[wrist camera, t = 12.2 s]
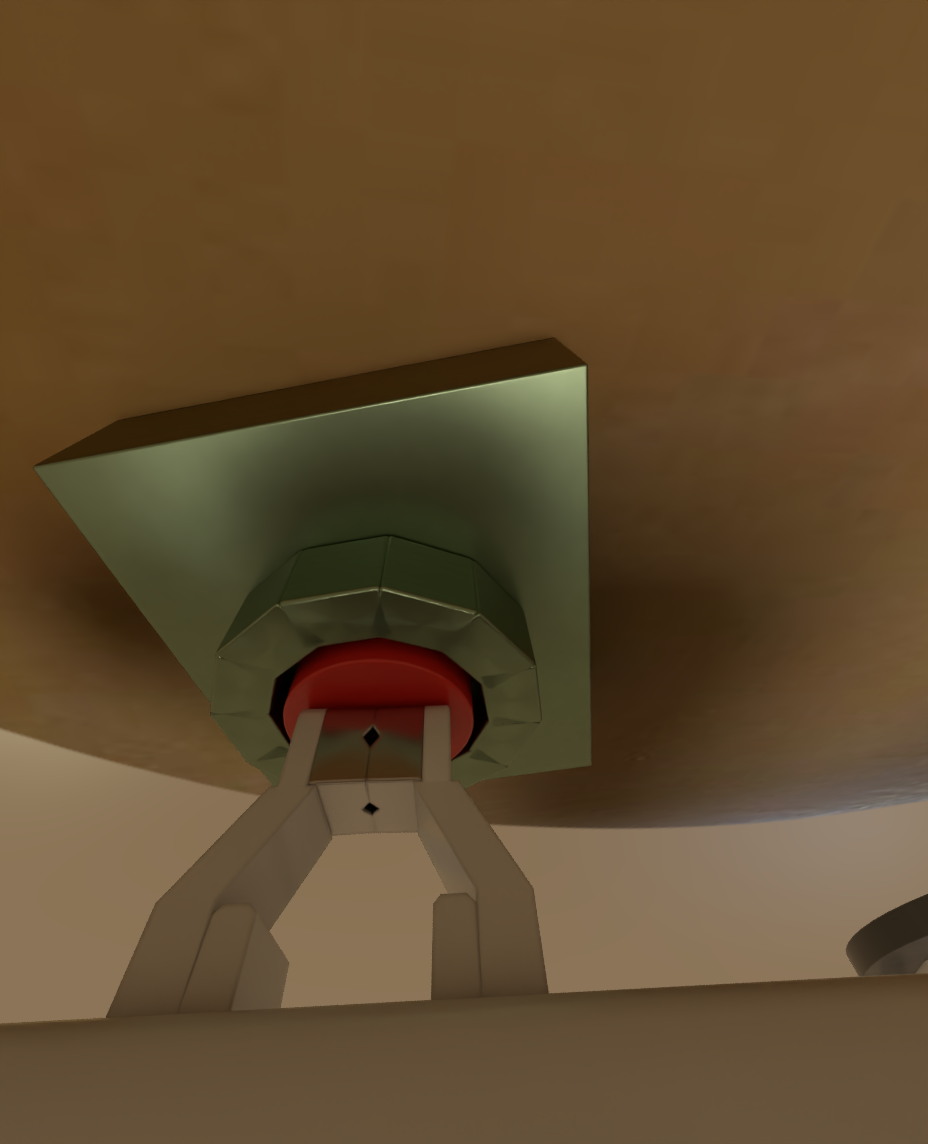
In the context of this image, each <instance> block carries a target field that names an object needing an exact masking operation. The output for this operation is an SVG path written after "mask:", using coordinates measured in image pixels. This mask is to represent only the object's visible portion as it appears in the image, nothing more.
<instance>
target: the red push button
mask: <svg viewBox="0 0 928 1144" xmlns="http://www.w3.org/2000/svg"><path fill="white" fill-rule="evenodd" d="M421 705H424V706H439V705H449V707H450V735H451V759H452V758H454V757H455V756H456V755H457V754H458V753H459V752H460V751H461V750H462V749H463V748H464V746H465V745H466V744H467V742H468V740H469V738H470V736H471V734H472V730H473V725H474V713H473V699H472V686H471V676H470V675H469V674H468V673H466V672H465V671H464V670H463V669H461V668H460V667H459V666H458V665H457V664H455V663H454V662H453V661H452V660H450V659H449V658H448V657H447V656H445V655H444V654H443V653H442V652H438V651H434V650H430V649H425V648H421V647H417V646H413V645H408V644H404V643H400V642H396V641H391V640H387V639H383V638H376V639H370V640H363V641H357V642H350V643H344V644H337V645H331V646H324V647H319V648H317V649H316V650H314V651H313V652H312V653H310V654H309V655H308V656H306V657H305V658H303V659H302V660H301V661H299V663H298V666H297V669H296V672H295V675H294V678H293V681H292V684H291V687H290V690H289V693H288V696H287V699H286V702H285V705H284V710H283V720H284V726H285V729H286V732H287V734H288V736H289V738H290V739H292V736H293V732H294V729H295V726H296V722H297V719H298V716H299V715H300V713H301V712H302V710H303V709H328V708H329V709H347V708H377V707H398V706H421Z"/></svg>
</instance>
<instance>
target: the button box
mask: <svg viewBox="0 0 928 1144" xmlns="http://www.w3.org/2000/svg"><path fill="white" fill-rule="evenodd" d="M33 469H34V470H35V472H36V473H37V474H38V476H39V477H40V478H41V480H42V481H43V482H44V484H45V485H46V486H47V488H48V489H49V490H50V492H51V493H52V494H53V496H54V497H55V498H56V500H57V501H58V502H59V503H60V505H61V506H62V507H63V509H64V510H65V511H66V513H67V514H68V515H69V517H70V518H71V519H72V521H73V522H74V523H75V525H76V526H77V527H78V529H79V530H80V531H81V533H82V534H83V535H84V537H85V538H86V539H87V541H88V542H89V543H90V545H91V546H92V547H93V549H94V550H95V551H96V552H97V554H98V555H99V556H100V558H101V559H102V560H103V562H104V563H105V564H106V566H107V567H108V568H109V570H110V571H111V572H112V574H113V575H114V576H115V578H116V579H117V580H118V582H119V583H120V584H121V586H122V587H123V588H124V590H125V591H126V592H127V594H128V595H129V596H130V598H131V599H132V600H133V601H134V603H135V604H136V605H137V607H138V608H139V609H140V611H141V612H142V613H143V615H144V616H145V617H146V619H147V620H148V621H149V623H150V624H151V625H152V627H153V628H154V629H155V631H156V632H157V633H158V635H159V636H160V637H161V639H162V640H163V641H164V643H165V644H166V645H167V646H168V648H169V649H170V650H171V652H172V653H173V654H174V656H175V657H176V658H177V660H178V661H179V662H180V664H181V665H182V666H183V668H184V669H185V670H186V672H187V673H188V674H189V676H190V677H191V678H192V680H193V681H194V682H195V684H196V685H197V686H198V688H199V689H200V690H201V692H202V693H203V694H204V695H205V697H206V698H207V699H208V701H209V702H210V703H211V706H210V711H211V712H210V715H211V717H212V718H213V719H214V720H215V722H216V723H217V724H218V726H219V727H220V728H221V729H222V731H223V732H224V733H225V735H226V736H227V737H228V739H229V740H230V741H231V742H232V744H233V745H234V746H235V748H236V749H237V750H238V751H239V753H240V754H241V755H242V757H243V758H244V759H245V760H246V762H248V763H249V764H250V765H252V766H254V767H256V768H258V769H260V770H261V771H262V772H263V774H264V775H265V776H266V778H267V779H268V780H269V782H270V783H271V784H272V786H277V785H278V782H279V779H280V775H281V772H282V769H283V765H284V762H285V759H286V755H287V752H288V749H289V745H290V742H291V739H290V738H289V736H288V734H287V732H286V729H285V726H284V720H283V710H284V705H285V702H286V699H287V696H288V693H289V690H290V687H291V684H292V681H293V678H294V675H295V672H296V669H297V666H298V663H299V661H301V660H302V659H303V658H305V657H306V656H308V655H309V654H310V653H312V652H313V651H314V650H316V649H317V648H319V647H324V646H331V645H337V644H344V643H350V642H357V641H363V640H370V639H376V638H383V639H387V640H391V641H396V642H400V643H404V644H408V645H413V646H417V647H421V648H425V649H430V650H434V651H438V652H442V653H443V654H444V655H445V656H447V657H448V658H449V659H450V660H452V661H453V662H454V663H455V664H457V665H458V666H459V667H460V668H461V669H463V670H464V671H465V672H466V673H468V674H469V675H470V676H471V686H472V699H473V713H474V725H473V730H472V734H471V736H470V738H469V740H468V742H467V744H466V745H465V746H464V748H463V749H462V750H461V751H460V752H459V753H458V754H457V755H456V756H455V757H454V758H452V759H451V780H459V781H460V782H461V784H462V785H463V787H464V788H465V789H466V788H468V787H470V786H472V785H474V784H476V783H478V782H480V781H482V780H487V779H494V778H502V777H509V776H517V775H524V774H532V773H539V772H547V771H554V770H562V769H569V768H577V767H584V766H591V654H590V543H589V432H588V365H587V363H586V362H584V361H583V360H582V359H581V358H579V357H578V356H577V355H576V354H574V353H573V352H572V351H571V350H569V349H568V348H567V347H566V346H564V345H563V344H562V343H561V342H559V341H558V340H557V339H556V338H550V339H545V340H539V341H534V342H529V343H524V344H518V345H513V346H508V347H503V348H497V349H492V350H487V351H482V352H476V353H471V354H466V355H461V356H455V357H450V358H445V359H439V360H434V361H429V362H424V363H418V364H413V365H408V366H403V367H397V368H392V369H387V370H382V371H376V372H371V373H366V374H360V375H355V376H350V377H345V378H339V379H334V380H329V381H324V382H318V383H313V384H308V385H303V386H297V387H292V388H287V389H282V390H276V391H271V392H266V393H260V394H255V395H250V396H245V397H239V398H234V399H229V400H224V401H218V402H213V403H208V404H203V405H197V406H192V407H187V408H181V409H176V410H171V411H166V412H160V413H155V414H150V415H145V416H139V417H134V418H129V419H124V420H118V421H116V422H114V423H112V424H110V425H108V426H106V427H105V428H103V429H101V430H99V431H97V432H95V433H94V434H92V435H90V436H88V437H86V438H84V439H83V440H81V441H79V442H77V443H75V444H73V445H71V446H70V447H68V448H66V449H64V450H62V451H60V452H59V453H57V454H55V455H53V456H51V457H49V458H47V459H46V460H44V461H42V462H40V463H38V464H36V465H35V466H34V467H33Z"/></svg>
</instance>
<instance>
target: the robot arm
mask: <svg viewBox="0 0 928 1144" xmlns="http://www.w3.org/2000/svg"><path fill="white" fill-rule="evenodd" d="M393 832H395V833H401V832H418V835H419V837H420V839H421V841H422V842H423V845H424V847H425V849H426V851H427V853H428V855H429V857H430V858H431V860H432V863H433V865H434V866H435V868H436V870H437V872H438V874H439V876H440V878H441V880H442V882H443V884H444V886H445V888H446V890H447V892H448V894H441V895H440V896H439V897H438V899H437V900H436V901H435V903H434V905H433V942H432V987H431V988H432V989H431V1000H424V1001H423V1000H422V1001H405V1002H386V1003H368V1004H350V1005H331V1006H315V1007H314V1006H313V1007H295V1008H280V1007H281V1002H282V997H283V992H284V987H285V982H286V976H287V971H288V966H289V962H288V960H287V958H286V957H285V955H284V954H283V952H282V950H281V949H280V947H279V946H278V944H277V943H276V941H275V939H274V938H273V936H272V935H271V933H270V932H269V931H270V929H271V928H272V926H273V925H274V923H275V922H276V920H277V919H278V918H279V916H280V915H281V913H282V912H283V910H284V909H285V907H286V906H287V904H288V903H289V901H290V900H291V898H292V897H293V896H294V894H295V893H296V891H297V890H298V888H299V887H300V885H301V884H302V882H303V881H304V879H305V878H306V877H307V875H308V874H309V872H310V871H311V869H312V868H313V866H314V865H315V863H316V862H317V860H318V859H319V857H320V856H321V855H322V853H323V851H324V850H325V849H326V847H327V846H328V844H329V843H330V841H331V840H332V836H334V835H350V834H364V833H393ZM0 1144H928V959H927V960H925V961H924V962H923V963H922V964H921V966H920V967H919V969H918V970H917V971H916V973H915V974H897V975H879V976H861V977H842V978H826V979H825V978H824V979H808V980H789V981H771V982H752V983H735V984H734V983H733V984H716V985H696V986H679V987H660V988H642V989H623V990H606V991H587V992H569V993H551V994H549V993H548V985H547V979H546V972H545V965H544V958H543V951H542V944H541V938H540V931H539V924H538V917H537V910H536V903H535V896H534V890H533V887H532V885H531V884H530V883H529V881H528V880H527V878H526V877H525V875H524V874H523V872H522V871H521V869H520V868H519V867H518V865H517V864H516V862H515V861H514V859H513V858H512V856H511V855H510V854H509V852H508V851H507V849H506V848H505V846H504V845H503V843H502V842H501V840H500V839H499V838H498V836H497V835H496V833H495V832H494V830H493V829H492V828H491V826H490V824H489V823H488V822H487V820H486V819H485V817H484V816H483V814H482V813H481V811H480V810H479V809H478V807H477V806H476V804H475V803H474V801H473V800H472V798H471V797H470V795H469V794H468V793H467V791H466V790H465V788H464V787H463V785H462V784H461V782H460V781H459V780H451V735H450V707H449V705H439V706H424V705H421V706H398V707H377V708H347V709H329V708H328V709H303V710H302V712H301V713H300V715H299V716H298V719H297V722H296V726H295V729H294V732H293V736H292V739H291V742H290V745H289V749H288V752H287V755H286V759H285V762H284V765H283V769H282V772H281V775H280V779H279V782H278V785H277V786H273V787H269V788H268V789H267V790H266V791H265V792H264V793H263V794H262V795H261V796H260V797H259V798H258V799H257V800H256V801H255V802H254V803H253V804H252V805H251V806H250V807H249V808H248V809H247V810H246V811H245V812H244V813H243V814H242V815H241V816H240V817H239V818H238V819H237V821H235V823H234V824H233V825H232V826H231V827H230V828H229V829H228V830H227V831H226V832H225V833H224V834H223V835H222V836H221V837H220V838H219V839H218V840H217V841H216V842H215V843H214V844H213V845H212V846H211V847H210V848H209V849H208V850H207V851H206V852H205V853H204V854H203V855H202V856H201V857H200V859H198V861H196V862H195V864H194V865H193V866H192V867H191V868H190V869H189V870H188V871H187V872H186V873H185V874H184V875H183V876H182V877H181V878H180V879H179V880H178V881H177V882H176V883H175V884H174V885H173V886H172V887H171V889H169V890H168V891H167V892H166V893H165V894H164V895H163V896H162V897H161V898H160V899H159V900H158V901H157V903H156V904H155V906H154V908H153V910H152V913H151V915H150V917H149V920H148V922H147V924H146V926H145V928H144V931H143V933H142V935H141V938H140V940H139V942H138V945H137V947H136V949H135V951H134V954H133V956H132V958H131V961H130V963H129V965H128V968H127V970H126V972H125V975H124V977H123V979H122V981H121V984H120V986H119V988H118V990H117V993H116V995H115V997H114V1000H113V1002H112V1004H111V1006H110V1009H109V1011H108V1013H107V1016H106V1018H94V1019H77V1020H57V1021H39V1022H22V1023H2V1024H0Z"/></svg>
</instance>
